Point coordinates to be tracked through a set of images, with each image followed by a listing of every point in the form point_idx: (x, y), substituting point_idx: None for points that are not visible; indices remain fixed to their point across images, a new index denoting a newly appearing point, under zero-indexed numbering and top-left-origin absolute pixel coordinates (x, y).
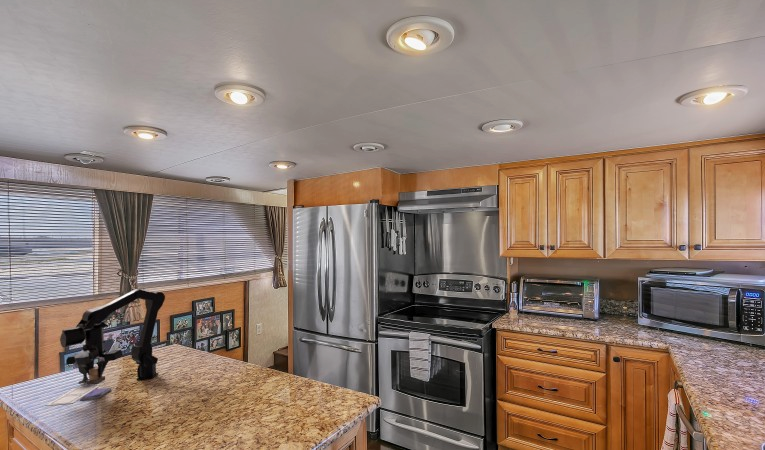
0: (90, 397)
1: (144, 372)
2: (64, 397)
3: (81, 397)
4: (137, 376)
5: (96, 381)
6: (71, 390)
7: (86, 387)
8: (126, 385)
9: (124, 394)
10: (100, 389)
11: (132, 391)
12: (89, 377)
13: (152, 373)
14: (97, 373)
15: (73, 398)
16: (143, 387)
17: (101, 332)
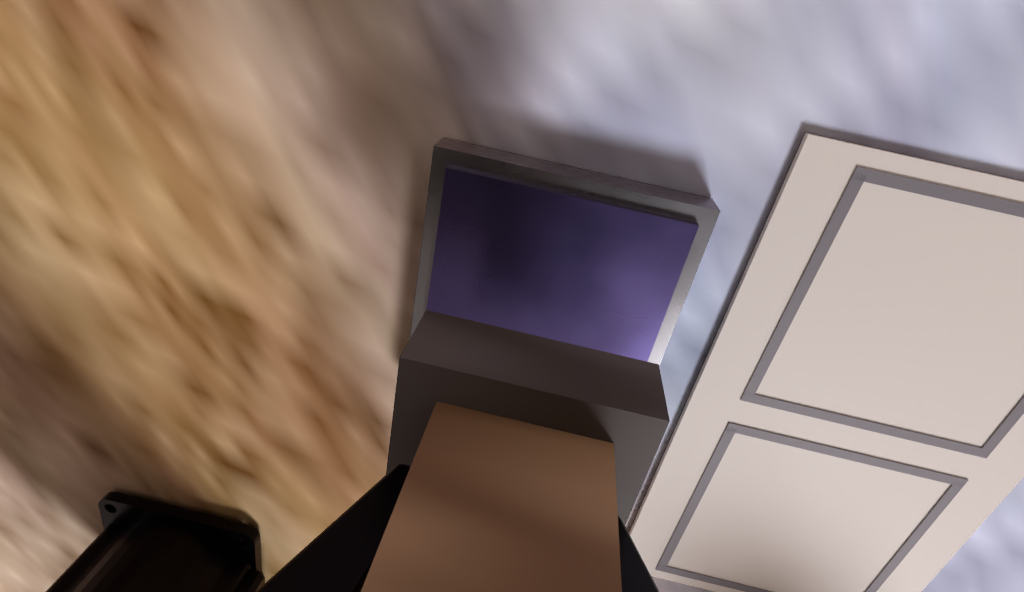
0: (561, 175)
1: (117, 582)
2: (968, 416)
3: (706, 230)
4: (256, 582)
5: (441, 348)
6: (912, 590)
7: (753, 589)
8: (299, 447)
9: (138, 147)
10: None
11: (91, 214)
12: (612, 498)
13: (79, 557)
14: (385, 535)
15: (834, 320)
16: (32, 289)
17: None
